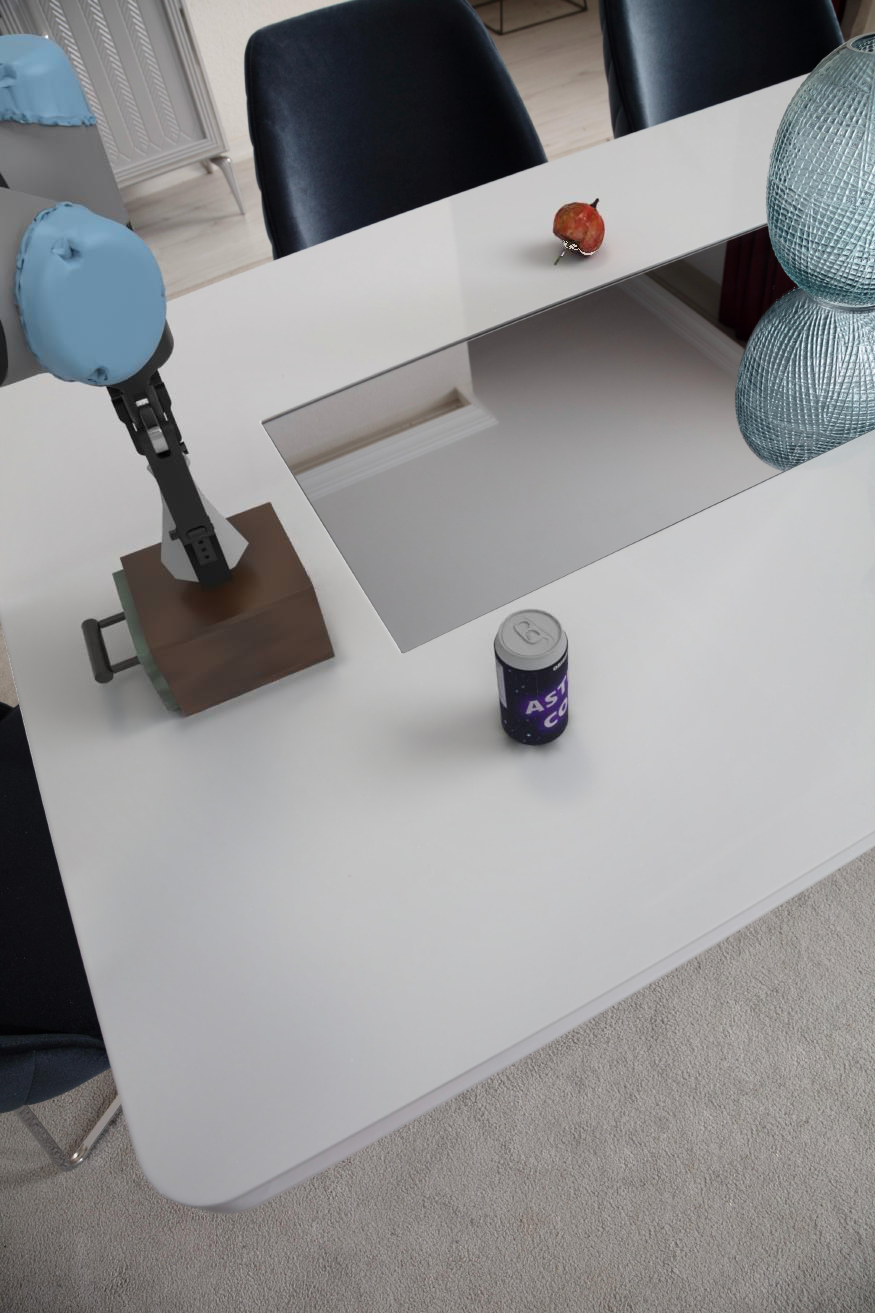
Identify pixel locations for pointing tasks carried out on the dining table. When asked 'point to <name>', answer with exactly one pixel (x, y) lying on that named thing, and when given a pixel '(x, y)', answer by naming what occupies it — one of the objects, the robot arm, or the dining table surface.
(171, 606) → the cabinet
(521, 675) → the beverage can
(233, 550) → the flask
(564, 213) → the pomegranate
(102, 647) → the drawer
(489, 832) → the dining table surface
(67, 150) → the robot arm
